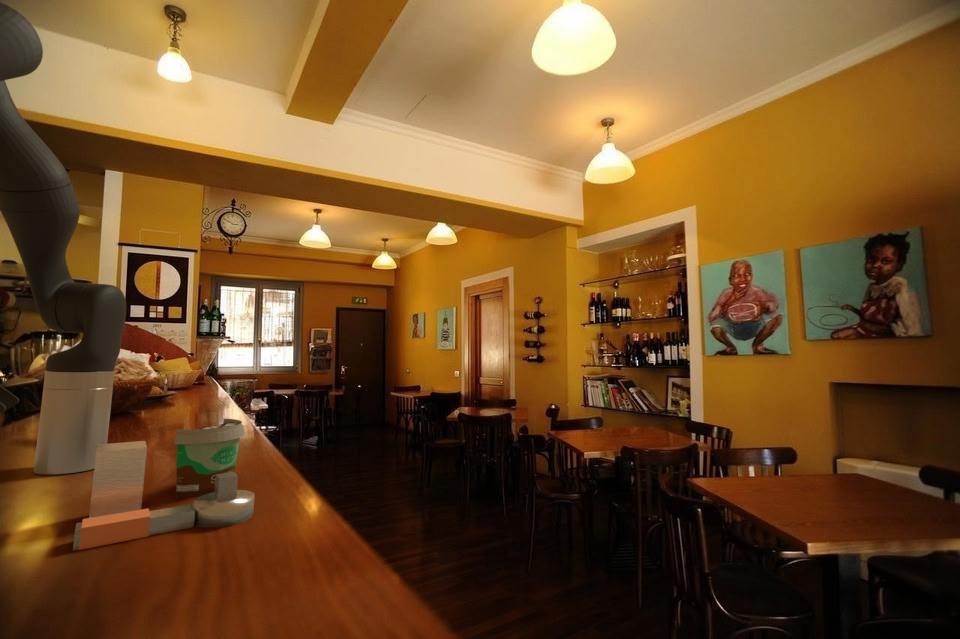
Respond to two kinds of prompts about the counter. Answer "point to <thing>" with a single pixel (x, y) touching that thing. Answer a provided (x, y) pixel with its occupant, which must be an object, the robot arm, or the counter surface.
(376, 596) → the counter surface
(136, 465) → the white upright block
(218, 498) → the ratchet
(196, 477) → the food container
